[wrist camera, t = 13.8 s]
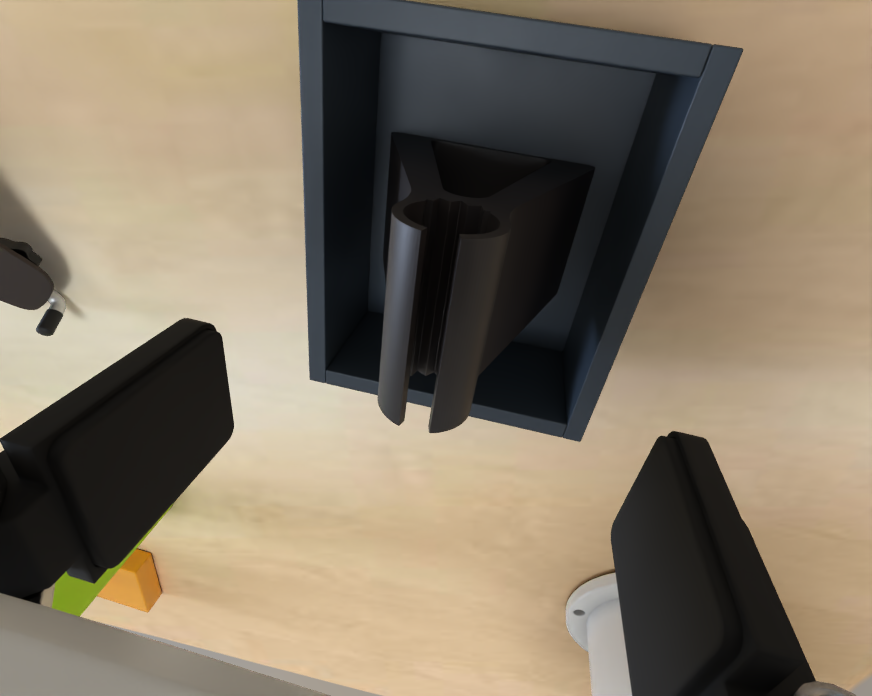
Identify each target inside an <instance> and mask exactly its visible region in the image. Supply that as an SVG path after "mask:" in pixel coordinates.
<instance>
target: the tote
mask: <svg viewBox="0 0 872 696" xmlns="http://www.w3.org/2000/svg"><path fill="white" fill-rule="evenodd" d="M298 31H299V62H300V93H301V124H302V155H303V186H304V217H305V248H306V279H307V310H308V341H309V371H310V380H314V381H318V382H322V383H327V384H331V385H336V386H340V387H344V388H349V389H353V390H357V391H362V392H366V393H370V394H375V395H378V387H379V374H380V360H381V347H382V334H383V320H384V307H385V293H386V281H385V273H384V265H383V247H384V232H385V217H386V203H387V188H388V173H389V158H390V143H391V132H401V133H406V134H412V135H418V136H424V137H429V138H435V139H441V140H447V141H452V142H458V143H464V144H470V145H475V146H481V147H487V148H489V149H498V150H504V151H510V152H516V153H521V154H527V155H533V156H539V157H544V158H550V159H556V160H562V161H567V162H573V163H579V164H585V165H590V166H593V167H595V171H594V174H593V178H592V181H591V184H590V188H589V191H588V194H587V197H586V201H585V204H584V207H583V211H582V214H581V217H580V220H579V224H578V227H577V230H576V233H575V237H574V240H573V243H572V247H571V250H570V253H569V256H568V260H567V263H566V266H565V270H564V273H563V276H562V279H561V283H560V286H559V289H558V293H557V294H556V296H555V297H554V298H553V299H552V300H551V301H550V302H549V303H548V304H547V305H546V306H545V307H544V308H543V309H542V310H541V311H540V312H539V313H538V314H537V315H536V316H535V317H534V318H533V320H532V321H531V322H530V323H529V324H528V325H527V326H526V327H525V328H524V329H523V330H522V331H521V332H520V333H519V334H518V335H517V336H516V337H515V338H514V339H513V340H512V341H511V342H510V343H509V345H508V346H507V347H506V348H505V349H504V350H503V351H502V352H501V353H500V354H499V355H498V356H497V357H496V358H495V359H494V360H493V361H492V362H491V363H490V364H489V365H488V366H487V367H486V369H485V370H484V371H483V372H482V373H481V374H480V375H479V376H478V379H477V384H476V388H475V392H474V397H473V401H472V406H471V410H470V413H469V415H468V416H471V417H475V418H479V419H484V420H488V421H492V422H497V423H501V424H505V425H510V426H514V427H518V428H523V429H527V430H531V431H536V432H540V433H545V434H549V435H553V436H558V437H563V438H566V439H570V440H574V441H579V442H580V441H581V439H582V437H583V435H584V432H585V430H586V427H587V425H588V423H589V420H590V418H591V415H592V413H593V411H594V408H595V406H596V403H597V401H598V399H599V396H600V394H601V391H602V389H603V386H604V384H605V382H606V379H607V377H608V374H609V372H610V370H611V367H612V365H613V362H614V360H615V358H616V355H617V353H618V350H619V348H620V346H621V343H622V341H623V338H624V336H625V334H626V331H627V329H628V326H629V324H630V322H631V319H632V317H633V314H634V312H635V310H636V307H637V305H638V302H639V300H640V298H641V295H642V293H643V290H644V288H645V286H646V283H647V281H648V278H649V276H650V274H651V271H652V269H653V266H654V264H655V262H656V259H657V257H658V254H659V252H660V249H661V247H662V245H663V242H664V240H665V237H666V235H667V233H668V230H669V228H670V225H671V223H672V221H673V218H674V216H675V213H676V211H677V209H678V206H679V204H680V201H681V199H682V197H683V194H684V192H685V189H686V187H687V185H688V182H689V180H690V177H691V175H692V173H693V170H694V168H695V165H696V163H697V161H698V158H699V156H700V153H701V151H702V149H703V146H704V144H705V141H706V139H707V137H708V134H709V132H710V129H711V127H712V124H713V122H714V120H715V117H716V115H717V112H718V110H719V108H720V105H721V103H722V100H723V98H724V96H725V93H726V91H727V88H728V86H729V84H730V81H731V79H732V76H733V74H734V72H735V69H736V67H737V64H738V62H739V60H740V57H741V55H742V52H743V49H742V48H737V47H730V46H723V45H716V44H714V45H711V44H709V43H702V42H695V41H688V40H681V39H674V38H667V37H660V36H653V35H645V34H638V33H631V32H624V31H617V30H610V29H603V28H596V27H589V26H582V25H575V24H568V23H561V22H554V21H547V20H540V19H533V18H526V17H519V16H512V15H505V14H498V13H491V12H484V11H477V10H470V9H463V8H456V7H449V6H442V5H435V4H428V3H421V2H414V1H407V0H298ZM436 377H437V375H436V374H435V373H431V374H429V375H426V376H425V375H423V374H422V373H420V372H419V371H416V372H415V373H414V374H413V375H412V376H410V377H409V385H408V393H407V402H410V403H414V404H418V405H423V406H427V407H431V408H432V401H433V395H434V389H435V383H436Z"/></svg>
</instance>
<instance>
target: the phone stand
mask: <svg viewBox="0 0 872 696" xmlns="http://www.w3.org/2000/svg"><path fill="white" fill-rule="evenodd" d="M594 171H595V167H593V166H590V165H585V164H579V163H573V162H567V161H562V160H556V159H550V158H544V157H539V156H533V155H527V154H521V153H516V152H510V151H504V150H498V149H489V148H487V147H481V146H475V145H470V144H464V143H458V142H452V141H447V140H441V139H435V138H429V137H424V136H418V135H412V134H406V133H401V132H391V143H390V158H389V173H388V188H387V203H386V217H385V232H384V247H383V265H384V273H385V281H386V293H385V307H384V320H383V334H382V347H381V360H380V374H379V387H378V404H379V407H380V409H381V411H382V412H383V413H384V415H385V416H386V417H387V418H388V419H389V420H391V421H392V422H393V423H395V424H397V425H398V426H399V425H400V424H401V423H402V422H403V421H404V418H405V410H406V402H407V393H408V385H409V377H410V376H412V375H413V374H414V373H415V372H416V371H419V372H420V373H422V374H423V375H425V376H426V375H429V374H431V373H435V374H436V375H437V377H436V383H435V389H434V395H433V401H432V408H431V414H430V420H429V433H439V432H444V431H448V430H451V429H453V428H455V427H457V426H459V425H460V424H462V423H463V422H464V421H465V420H466V419H467V417H468V415H469V413H470V410H471V406H472V401H473V397H474V392H475V388H476V384H477V379H478V376H479V375H480V374H481V373H482V372H483V371H484V370H485V369H486V367H487V366H488V365H489V364H490V363H491V362H492V361H493V360H494V359H495V358H496V357H497V356H498V355H499V354H500V353H501V352H502V351H503V350H504V349H505V348H506V347H507V346H508V345H509V343H510V342H511V341H512V340H513V339H514V338H515V337H516V336H517V335H518V334H519V333H520V332H521V331H522V330H523V329H524V328H525V327H526V326H527V325H528V324H529V323H530V322H531V321H532V320H533V318H534V317H535V316H536V315H537V314H538V313H539V312H540V311H541V310H542V309H543V308H544V307H545V306H546V305H547V304H548V303H549V302H550V301H551V300H552V299H553V298H554V297H555V296H556V294H557V293H558V289H559V286H560V283H561V279H562V276H563V273H564V270H565V266H566V263H567V260H568V256H569V253H570V250H571V247H572V243H573V240H574V237H575V233H576V230H577V227H578V224H579V220H580V217H581V214H582V211H583V207H584V204H585V201H586V197H587V194H588V191H589V188H590V184H591V181H592V178H593V174H594Z"/></svg>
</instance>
